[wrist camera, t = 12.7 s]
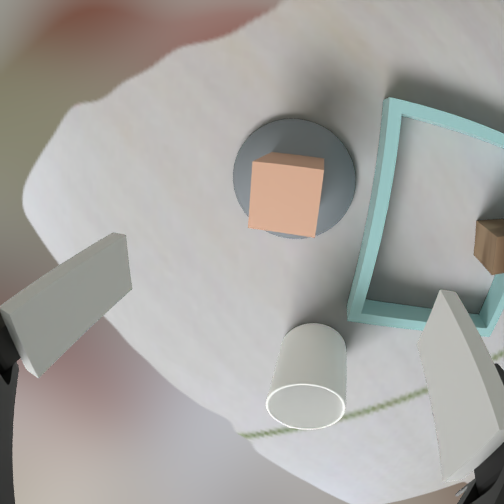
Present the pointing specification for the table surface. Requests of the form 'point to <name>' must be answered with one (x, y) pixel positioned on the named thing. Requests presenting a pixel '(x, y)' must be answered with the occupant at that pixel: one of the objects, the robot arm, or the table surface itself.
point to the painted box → (286, 193)
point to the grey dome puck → (306, 144)
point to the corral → (358, 306)
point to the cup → (309, 378)
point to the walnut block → (490, 244)
